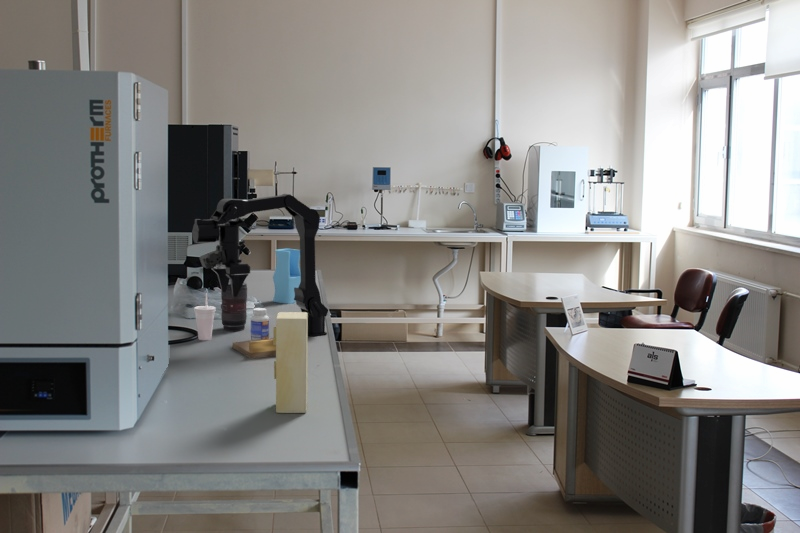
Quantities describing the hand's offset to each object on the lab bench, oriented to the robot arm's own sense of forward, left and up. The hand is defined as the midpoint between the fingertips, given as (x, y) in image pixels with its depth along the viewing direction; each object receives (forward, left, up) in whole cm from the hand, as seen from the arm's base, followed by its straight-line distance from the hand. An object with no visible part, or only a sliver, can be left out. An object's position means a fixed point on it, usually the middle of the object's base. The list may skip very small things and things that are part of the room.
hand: (229, 294), depth 235 cm
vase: (-44, -56, -15) cm, 73 cm away
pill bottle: (-9, +2, -15) cm, 17 cm away
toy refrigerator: (+10, +66, -15) cm, 68 cm away
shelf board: (-6, +14, -15) cm, 21 cm away
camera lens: (-8, -17, -15) cm, 24 cm away
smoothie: (+5, -7, -15) cm, 17 cm away
